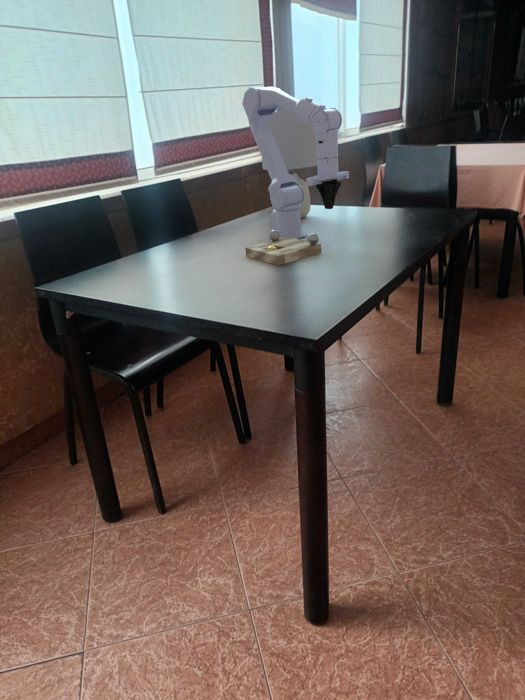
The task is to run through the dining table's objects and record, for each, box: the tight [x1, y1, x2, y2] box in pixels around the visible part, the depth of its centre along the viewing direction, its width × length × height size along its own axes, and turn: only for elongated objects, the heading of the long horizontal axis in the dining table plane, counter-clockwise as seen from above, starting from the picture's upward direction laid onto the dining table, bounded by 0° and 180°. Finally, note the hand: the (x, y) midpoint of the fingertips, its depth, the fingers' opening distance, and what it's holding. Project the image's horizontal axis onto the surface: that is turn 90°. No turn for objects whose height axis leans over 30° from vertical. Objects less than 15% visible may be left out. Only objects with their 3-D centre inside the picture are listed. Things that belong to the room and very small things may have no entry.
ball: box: [267, 246, 277, 251], centre depth 135 cm, size 3×3×3 cm
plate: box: [244, 237, 322, 266], centre depth 137 cm, size 15×15×2 cm
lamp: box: [261, 110, 317, 219], centre depth 176 cm, size 20×20×37 cm
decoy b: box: [306, 232, 320, 245], centre depth 134 cm, size 3×3×3 cm
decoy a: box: [268, 229, 280, 241], centre depth 142 cm, size 3×3×3 cm
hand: (329, 208), depth 141 cm, fingers closed
